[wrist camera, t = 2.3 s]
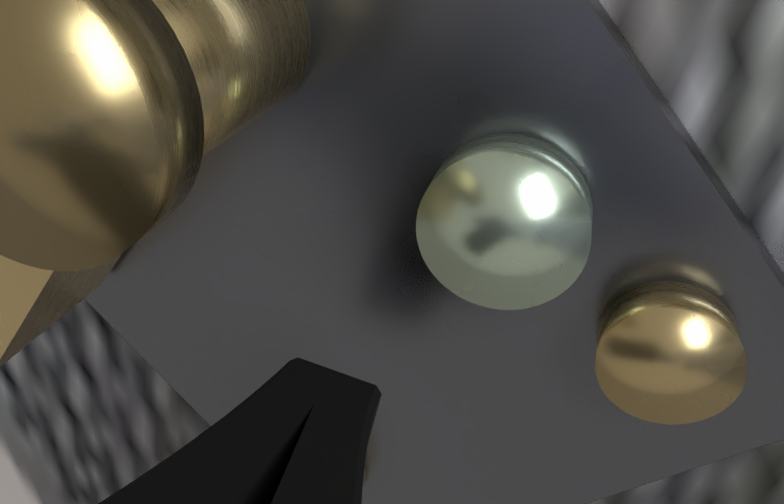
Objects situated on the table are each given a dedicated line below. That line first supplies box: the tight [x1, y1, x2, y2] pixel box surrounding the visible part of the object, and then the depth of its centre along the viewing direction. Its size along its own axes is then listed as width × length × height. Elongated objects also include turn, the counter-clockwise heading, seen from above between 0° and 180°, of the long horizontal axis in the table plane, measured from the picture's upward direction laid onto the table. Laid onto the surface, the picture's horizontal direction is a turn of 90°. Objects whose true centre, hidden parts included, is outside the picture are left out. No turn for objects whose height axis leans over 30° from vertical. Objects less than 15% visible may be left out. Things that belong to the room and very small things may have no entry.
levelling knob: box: [0, 0, 311, 366], centre depth 9 cm, size 7×3×4 cm, turn 141°
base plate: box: [84, 0, 784, 504], centre depth 10 cm, size 16×10×3 cm, turn 41°
